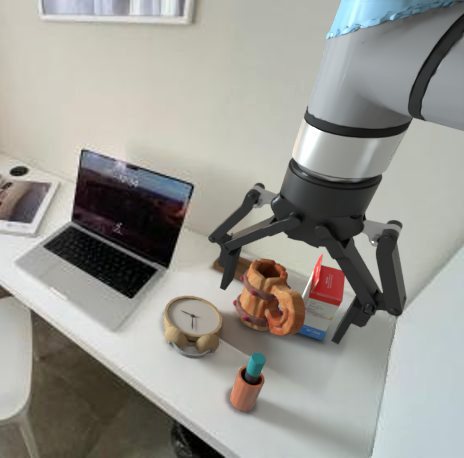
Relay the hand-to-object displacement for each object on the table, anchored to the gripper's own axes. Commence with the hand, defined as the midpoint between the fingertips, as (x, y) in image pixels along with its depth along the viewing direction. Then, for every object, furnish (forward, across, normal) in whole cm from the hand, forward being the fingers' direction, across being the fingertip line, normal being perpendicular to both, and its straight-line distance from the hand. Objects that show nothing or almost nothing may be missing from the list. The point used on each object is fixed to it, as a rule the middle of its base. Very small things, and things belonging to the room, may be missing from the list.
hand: (277, 307), depth 47 cm
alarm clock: (+25, +13, -7) cm, 29 cm away
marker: (+24, 0, 0) cm, 24 cm away
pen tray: (+25, +11, -30) cm, 40 cm away
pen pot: (+25, 0, 0) cm, 25 cm away
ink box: (+25, -4, -24) cm, 35 cm away
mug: (+25, +3, -17) cm, 30 cm away
